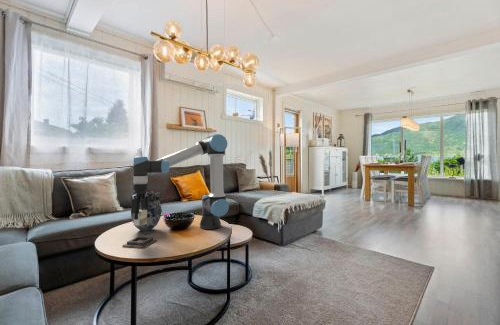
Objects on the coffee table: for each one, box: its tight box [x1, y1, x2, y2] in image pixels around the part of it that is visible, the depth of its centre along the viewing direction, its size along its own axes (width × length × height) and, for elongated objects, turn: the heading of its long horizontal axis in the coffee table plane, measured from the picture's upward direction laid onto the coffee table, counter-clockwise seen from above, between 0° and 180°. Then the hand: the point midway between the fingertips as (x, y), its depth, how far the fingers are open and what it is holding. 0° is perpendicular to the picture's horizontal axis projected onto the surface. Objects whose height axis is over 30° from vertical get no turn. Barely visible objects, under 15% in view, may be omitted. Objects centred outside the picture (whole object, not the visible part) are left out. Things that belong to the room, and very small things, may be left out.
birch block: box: [133, 210, 147, 226], centre depth 138 cm, size 5×5×8 cm
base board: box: [122, 236, 158, 249], centre depth 138 cm, size 13×13×2 cm
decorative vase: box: [130, 189, 163, 235], centre depth 160 cm, size 21×19×28 cm
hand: (140, 223), depth 138 cm, fingers closed on birch block, 5 cm apart
